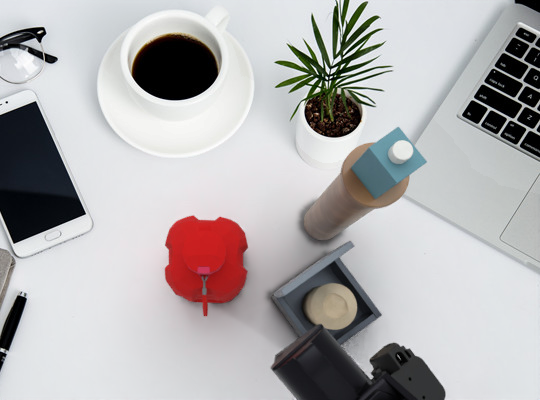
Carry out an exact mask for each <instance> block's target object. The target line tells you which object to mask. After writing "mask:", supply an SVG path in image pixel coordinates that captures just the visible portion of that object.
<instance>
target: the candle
mask: <svg viewBox="0 0 540 400" xmlns="http://www.w3.org/2000/svg"><path fill="white" fill-rule="evenodd" d="M302 310H303V314H304V316H305V318H306V319H307V320H308V321H309V322H310V323H311V324H312V325H314V326H317V325H318V324H322V325H323V326H324V327H325V328H326V329H332V330H338V329H342V328H345V327H346V326H348V325H349V324H350V323H351V322H352V321H353V320H354V318H355V316H356V312H357V302H356V299H355V297H354V295H353V293H352V292H351V291H350V290H349V289H348V288H346V287H345V286H343V285H340V284H336V283H330V284H325V285H321V286H318V287H315V288H313V289H311V290H310V291H308V292H307V294H306V295H305V297H304V299H303V302H302Z"/></svg>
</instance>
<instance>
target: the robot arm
mask: <svg viewBox="0 0 540 400" xmlns="http://www.w3.org/2000/svg"><path fill="white" fill-rule="evenodd" d="M369 363H370V365H371V366H372V370H371V371H370V375H371V376H372V378H370V377H369V376H368V374H366V372H364V369H362V368H361V367H360V366H359V364H357V362H356V361H355V360H354V359H353V358H352V357H351V356H350V354H349V353H348V352H347V351H346V350H345V349H344V348H343V346H342V345H340V344H339V343H338V342H337V341H336V340H335V339H334V337H333V336H332V335H331V334H330V333H329V332H328V330H327V329H326V328H325V327H324V326H323V325H322V324H318V325H317V326H315V327H313V328H312V329H310V330H309V331H308V332H306V333H305V334H304V335H303V336H301V337H298V338H297V339H296V340H294V341H293V342H291V343H290V344H289V345H287V346H286V347H284V348H283V349H282V350H280V351H279V352H277V353H276V354H275V355H274V361H273V363H272V365H271V366H270V370H271V371H272V372H273V374H274V375H276V377H277V379H279V381H280V382H281V383H282V384H283V385H284V386H285V388H286V389H287V390H288V391H289V392H290V393H291V395H292V396H293V397H294V398H295V399H296V400H445V399H446V394H447V393H446V389H445V387H444V386H443V384H442V383H441V382H440V380H439V379H438V377H437V376H436V375H435V373H434V372H433V370H431V368H430V367H429V365H428V364H427V363H426V362H425V360H424V359H423V358H422V357H420V356H418V355H416V354H415V353H414V352H413V351H412V350H411V348H407V347H406V346H405V345H400V344H399V343H397V342H391V343H387V344H385V345H384V346H382V347H381V348H380V349H378V350H377V352H376V353H374V354H373V355H372V356H371V357H370V358H369Z"/></svg>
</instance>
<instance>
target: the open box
mask: <svg viewBox="0 0 540 400" xmlns="http://www.w3.org/2000/svg"><path fill="white" fill-rule="evenodd" d="M330 283H336V284H340V285H343V286H345V287H346V288H348V289H349V290H350V291H351V292H352V293H353V295H354V297H355V299H356V302H357V312H356V316H355V318H354V320H353V321H352V322H351V323H350V324H349V325H348V326H346V327H345V328H342V329H338V330H332V329H327V330H328V332H329V333H330V334H331V335H332V336H333V337H334V339H335V340H336V341H337V342H338V343H339V344H340V345H341V346H342V345H343V344H344V343H347V341H349V340H350V339H352V338H353V337H355V336H356V335H357V334H358V333H360V332H361V331H363V330H364V329H365V328H367V327H368V326H369V325H371V324H373V323H374V322H375V321H376V320H377V319H379V318H381V317H382V316H383V314H382V313H381V311H380V310H379V309H378V307H377V306H376V304H375V303H374V301H372V299H371V297H369V295H368V293H366V291H365V290H364V288H363V287H362V286H361V284H360V283H359V282H358V280H357V279H356V278H355V276H354V275H353V274H352V272H351V271H350V269H348V267H347V265H345V264H344V262H343V260H342V259H341V257H339V258H338V259H336V260H335V261H333V262H332V263H331V264H329V265H328V266H326V267H325V268H324V269H322V270H321V271H319V272H318V273H317V274H315V275H314V276H312V277H311V278H310V279H308V280H307V281H305V282H304V283H303V284H301V285H300V286H298V287H297V288H296V289H294V290H293V291H291V292H290V293H289V294H287V295H286V296H283V297H279V298H276V297H275V295H274V294H272V295H271V297H270V298H271V300H272V301H273V302H274V304H275V306H277V308H278V309H279V311H280V312H281V314H282V315H283V316H284V317H285V319H286V321H287V322H288V323H289V324H290V326H291V327H292V329H293V330H294V332H295V333H296V334H297V336H298V338H300V337H301V336H303V335H304V334H305V333H306V332H308V331H309V330H310V329H312V328H313V327H315V326H314V325H312V324H311V323H310V322H309V321H308V320H307V319H306V318H305V316H304V314H303V310H302V302H303V299H304V297H305V295H306V294H307V292H308V291H310V290H311V289H313V288H315V287H318V286H321V285H325V284H330Z"/></svg>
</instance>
